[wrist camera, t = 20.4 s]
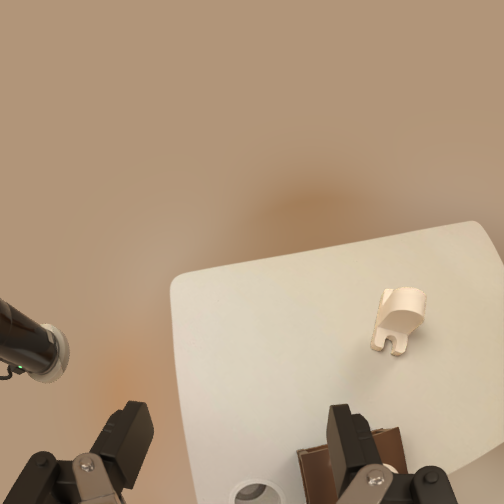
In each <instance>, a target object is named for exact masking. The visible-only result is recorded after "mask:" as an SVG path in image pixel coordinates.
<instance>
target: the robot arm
mask: <svg viewBox="0 0 504 504" xmlns="http://www.w3.org/2000/svg"><path fill="white" fill-rule="evenodd" d="M59 352H60V347H59V342H58V339H57V337H56V336H55V334H54V333H53V332H51V331H50V330H48V329H45V328H44V327H42V326H41V325H39V324H38V323H36V322H35V321H33V320H32V319H30V318H29V317H27V316H25V315H24V314H23V313H21V312H20V311H18V310H17V309H15V308H14V307H12V306H11V305H9V304H8V303H7V302H5V301H4V300H2V299H1V298H0V361H2V362H4V363H7V364H9V366H8V369H7V370H8V373H9V375H8V376H0V380H7V379H10V378H11V377H12V372H14V373H17V374H19V375H20V374H22V373H24V372H28V373H30V374H32V373H35V374H38V375H45V374H47V373H49V372H50V371H52V369H53V368H54V367H55V365H56V364H57V361H58V358H59ZM11 371H12V372H11ZM153 435H154V428H153V424H152V420H151V417H150V414H149V411H148V407H147V404H146V403H144V402H137V401H128V402H127V404H126V406H125V408H124V409H123V410H117V411H116V412H115V413H114V414H112V415H111V416H110V418H109V419H108V421H107V423H106V425H105V426H104V428H103V431H101V433H100V435H99V436H98V438H97V440H96V441H95V443H94V445H93V447H92V448H91V450H90V452H89V453H83V454H80V455H78V456H77V457H76V458H75V459H74V460H73V461H62V460H56V458H55V457H54V456H53V454H51V453H50V452H46V451H41V452H38V453H35V454H34V455H32V456H31V458H30V459H29V461H28V463H27V464H26V466H25V467H24V469H23V470H22V472H21V474H20V475H19V477H18V479H17V480H16V482H15V483H14V485H13V487H12V488H11V490H10V492H9V494H8V495H7V497H6V499H5V500H4V502H3V504H126V502H125V500H124V498H123V496H122V494H121V492H122V490H123V488H127V489H133V486H134V484H135V481H136V479H137V476H138V474H139V471H140V469H141V466H142V464H143V461H144V459H145V456H146V454H147V451H148V448H149V446H150V444H151V441H152V439H153ZM326 437H327V444H328V450H329V455H330V460H331V465H332V470H333V476H334V481H335V487H336V492H337V498H338V499H339V500H338V501H337V503H336V504H458V503H457V500H456V497H455V495H454V492H453V490H452V487H451V485H450V482H449V480H448V477H447V475H446V473H445V472H444V470H442V469H441V468H439V467H436V466H425V467H423V468H421V469H419V470H418V471H417V472H416V473H415V474H399V473H394V472H392V471H391V470H390V469H389V468H388V467H386V466H384V465H383V463H382V461H381V458H380V455H379V452H378V449H377V446H376V444H375V441H374V438H373V435H372V432H371V431H370V427H369V424H368V421H367V420H366V419H365V418H364V417H363V416H362V415H361V414H352V415H351V411H350V408H349V405H348V404H340V405H331V406H330V409H329V416H328V423H327V431H326Z"/></svg>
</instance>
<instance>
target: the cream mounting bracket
mask: <svg viewBox="0 0 504 504" xmlns="http://www.w3.org/2000/svg"><path fill="white" fill-rule="evenodd" d="M426 299H427V297H426V294H425V293H424V292H422V291H421V290H418V289H416V288H411V287H402V288H398V289H396V290H392V289H385V291H384V292H383V294H382V295H381V300H380V305H379V310H378V315H377V319H376V324H375V328H374V333H373V337H372V341H371V348H372V349H373V350H377V351H380V350H381V349H383V347H384V343H385V339H389V340H391V341H392V344H393V347H392V351H391V354H392V355H396V356H399V355H400V354H402V353H403V352H404V351H405V350H406V345H407V340H408V335H409V334H410V333H411V332H412V331H414V330H415V329H416V328H417V327H418V326H419V325H421V324H422V323H423V321H424V315H425V307H426Z"/></svg>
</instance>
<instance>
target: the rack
mask: <svg viewBox="0 0 504 504" xmlns="http://www.w3.org/2000/svg"><path fill="white" fill-rule="evenodd" d="M371 432H372V435H373V438H374V441H375V444H376V446H377V449H378V452H379V455H380V458H381V461H382V463H383V464H388V465H390V466H392V467H393V468H395V469H396V471H397V472H398V473H399V474H408V471H407V466H406V461H405V455H404V450H403V445H402V440H401V435H400V431H399V427H395V428H392V429H383V428H381V429H376V430H373V431H371ZM297 455H298V460H299V465H300V470H301V475H302V481H303V486H304V491H305V496H306V502H307V504H336V503H337V501H338V500H339V499H338V498H337V492H336V487H335V481H334V476H333V470H332V465H331V460H330V455H329V450H328V444H325V445H321V446H317V447H313V448H308V449H301V450H297Z"/></svg>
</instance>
